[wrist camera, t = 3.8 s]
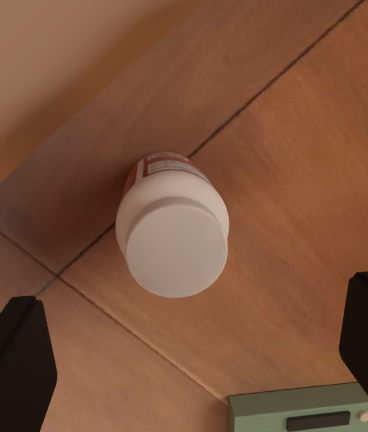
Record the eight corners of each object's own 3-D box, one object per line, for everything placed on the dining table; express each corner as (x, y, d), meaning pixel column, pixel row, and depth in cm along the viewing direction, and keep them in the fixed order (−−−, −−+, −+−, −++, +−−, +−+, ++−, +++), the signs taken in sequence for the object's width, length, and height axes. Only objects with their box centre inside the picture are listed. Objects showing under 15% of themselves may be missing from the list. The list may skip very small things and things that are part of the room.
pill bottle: (158, 244, 27) (163, 336, 16) (107, 184, 25) (76, 246, 14) (221, 198, 26) (269, 264, 16) (174, 133, 24) (193, 158, 14)
